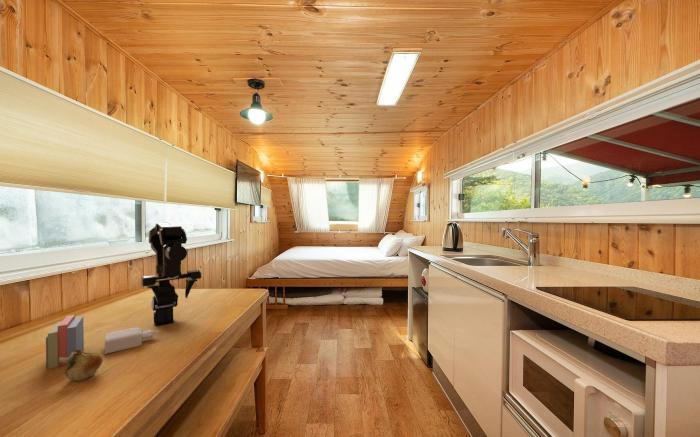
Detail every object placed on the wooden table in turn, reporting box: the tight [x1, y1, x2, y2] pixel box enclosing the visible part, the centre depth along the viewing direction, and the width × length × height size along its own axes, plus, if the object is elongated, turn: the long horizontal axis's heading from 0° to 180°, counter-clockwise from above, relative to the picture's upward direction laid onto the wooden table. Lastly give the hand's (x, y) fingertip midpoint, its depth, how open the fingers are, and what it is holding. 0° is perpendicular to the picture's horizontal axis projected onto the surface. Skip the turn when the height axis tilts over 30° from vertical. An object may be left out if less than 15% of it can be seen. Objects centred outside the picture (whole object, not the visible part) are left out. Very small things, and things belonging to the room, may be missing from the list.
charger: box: [104, 326, 160, 355], centre depth 99 cm, size 5×9×15 cm
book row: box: [45, 314, 85, 369], centre depth 89 cm, size 7×12×12 cm, turn 36°
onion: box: [59, 349, 104, 382], centre depth 77 cm, size 8×8×8 cm
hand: (172, 300), depth 106 cm, fingers open, 9 cm apart
